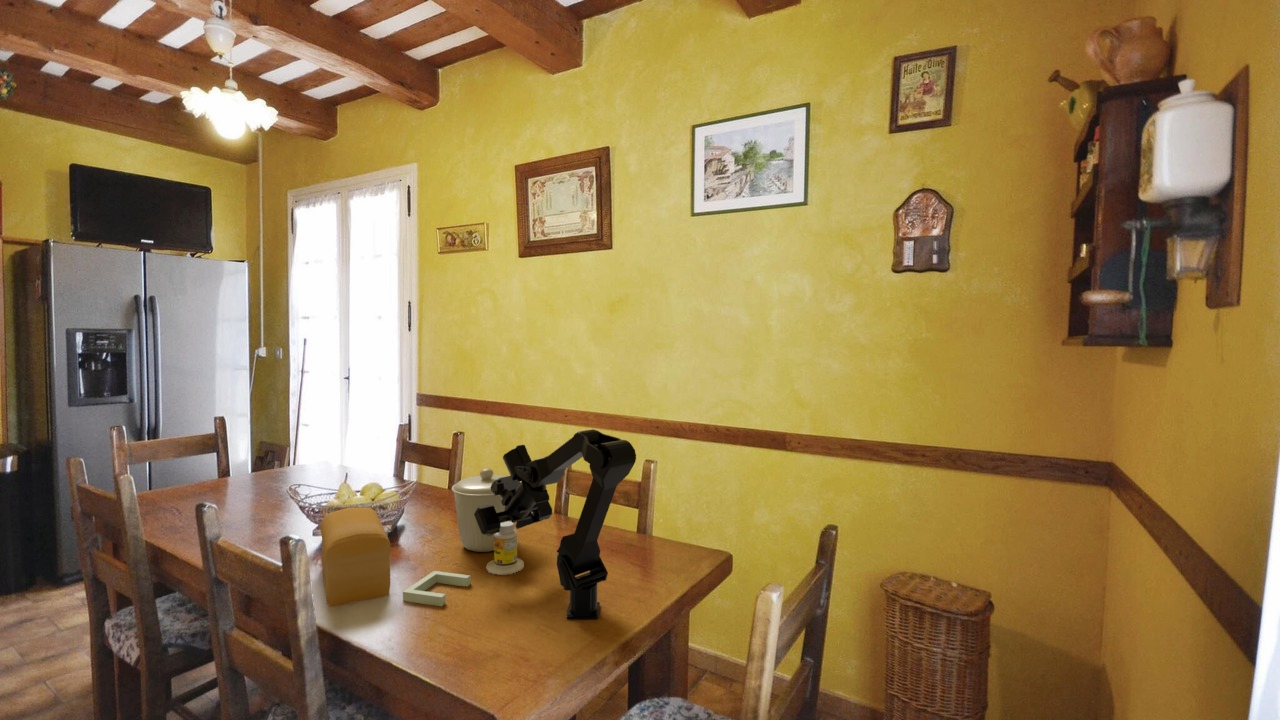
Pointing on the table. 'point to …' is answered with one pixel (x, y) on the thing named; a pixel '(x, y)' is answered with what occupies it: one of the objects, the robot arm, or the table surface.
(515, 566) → the coaster
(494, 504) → the canister
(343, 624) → the table surface
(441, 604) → the pale green u-shaped bracket
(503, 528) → the supplement bottle
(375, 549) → the bread
